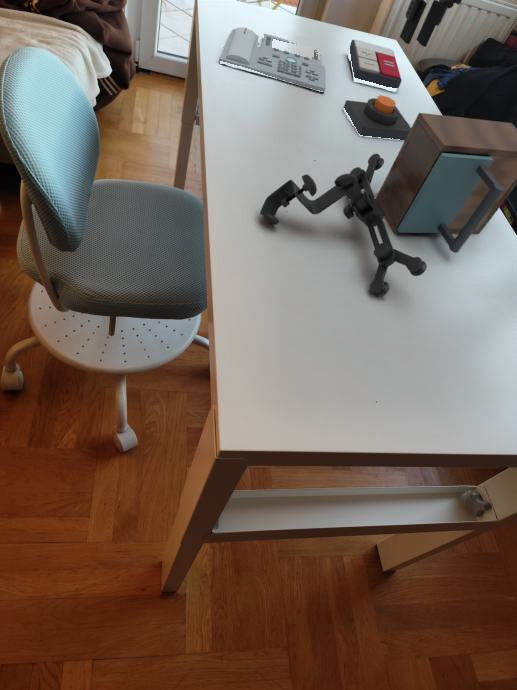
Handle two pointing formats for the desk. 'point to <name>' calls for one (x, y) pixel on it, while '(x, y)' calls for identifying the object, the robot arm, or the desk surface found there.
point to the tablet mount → (350, 214)
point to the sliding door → (451, 197)
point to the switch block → (377, 120)
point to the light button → (384, 104)
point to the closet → (454, 138)
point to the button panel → (374, 64)
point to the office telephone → (273, 59)
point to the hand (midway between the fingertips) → (412, 41)
